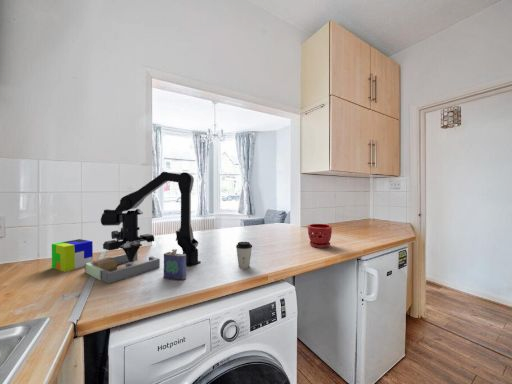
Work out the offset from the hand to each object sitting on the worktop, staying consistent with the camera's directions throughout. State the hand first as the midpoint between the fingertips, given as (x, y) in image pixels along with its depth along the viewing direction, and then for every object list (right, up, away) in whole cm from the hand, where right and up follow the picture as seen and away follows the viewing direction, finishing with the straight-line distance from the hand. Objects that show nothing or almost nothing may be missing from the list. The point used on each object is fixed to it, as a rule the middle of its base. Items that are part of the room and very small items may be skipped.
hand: (130, 261), depth 94 cm
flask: (+24, -2, -13) cm, 27 cm away
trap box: (0, -2, -5) cm, 5 cm away
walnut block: (-6, -2, -8) cm, 10 cm away
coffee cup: (+49, -2, -1) cm, 49 cm away
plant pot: (+90, -2, +33) cm, 96 cm away
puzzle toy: (-24, -2, 0) cm, 24 cm away
